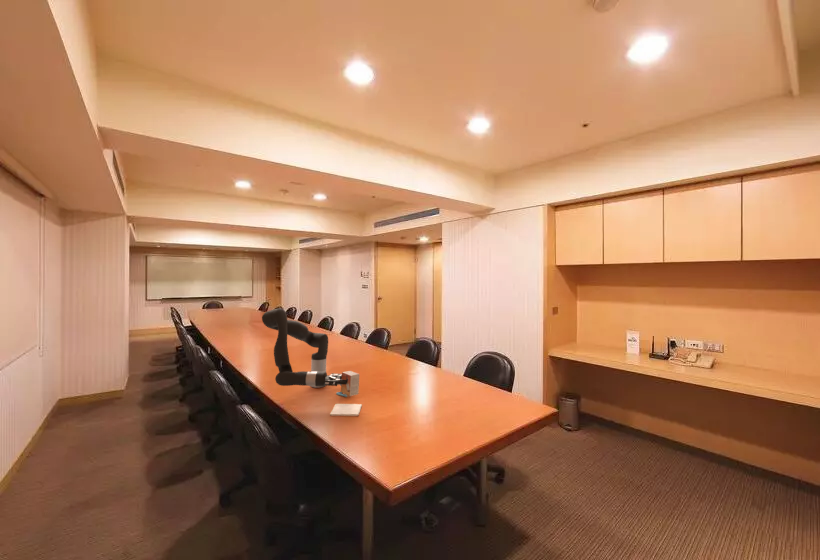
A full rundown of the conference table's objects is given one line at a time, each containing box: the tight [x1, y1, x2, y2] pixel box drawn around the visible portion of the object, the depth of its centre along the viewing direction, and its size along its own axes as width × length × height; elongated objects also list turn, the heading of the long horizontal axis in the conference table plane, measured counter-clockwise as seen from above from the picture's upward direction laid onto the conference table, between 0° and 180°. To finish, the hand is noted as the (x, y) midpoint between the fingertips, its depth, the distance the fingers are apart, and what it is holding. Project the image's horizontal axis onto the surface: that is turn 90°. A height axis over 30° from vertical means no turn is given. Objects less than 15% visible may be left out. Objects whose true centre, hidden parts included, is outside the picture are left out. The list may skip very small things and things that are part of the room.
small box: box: [340, 370, 360, 397], centre depth 174 cm, size 8×6×10 cm
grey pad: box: [329, 403, 363, 417], centre depth 175 cm, size 14×14×1 cm
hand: (348, 379), depth 175 cm, fingers closed on small box, 7 cm apart
